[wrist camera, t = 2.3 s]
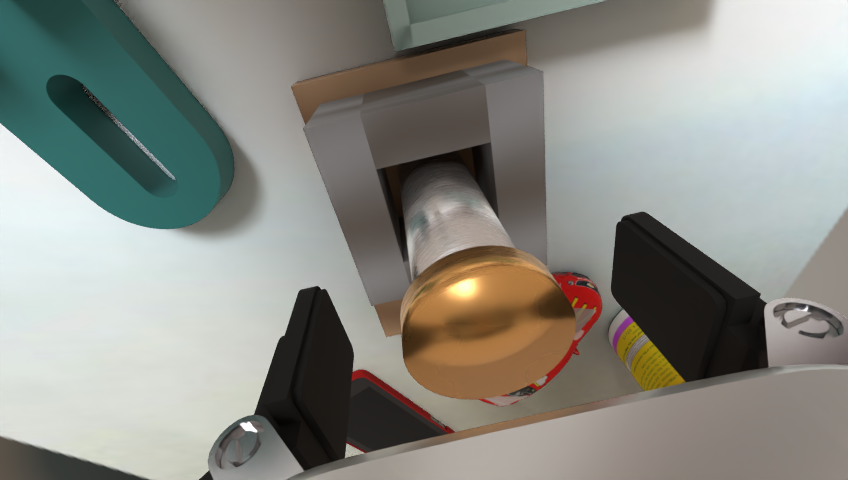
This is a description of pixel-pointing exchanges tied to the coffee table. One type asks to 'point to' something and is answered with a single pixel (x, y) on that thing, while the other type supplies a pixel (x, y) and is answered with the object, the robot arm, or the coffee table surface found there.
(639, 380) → the supplement bottle
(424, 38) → the tray
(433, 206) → the pin
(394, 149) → the square socket fixture board
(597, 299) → the race car
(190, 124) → the bracket
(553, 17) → the coffee table surface
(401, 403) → the cell phone
